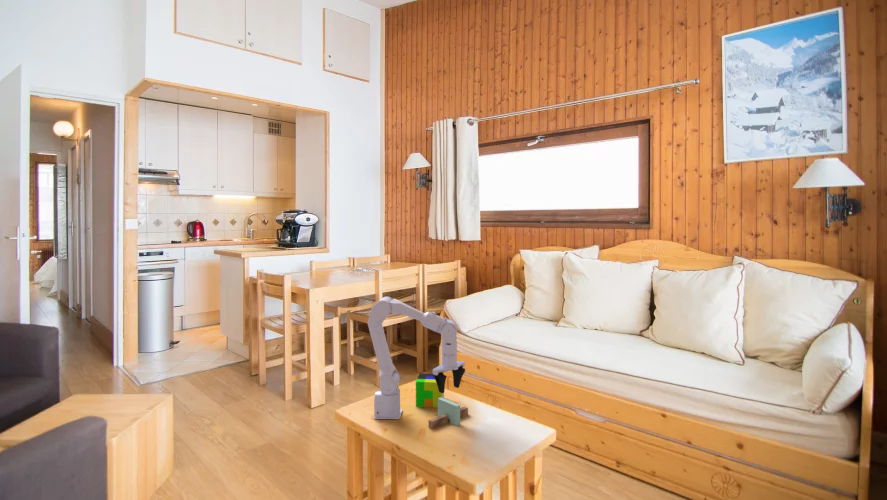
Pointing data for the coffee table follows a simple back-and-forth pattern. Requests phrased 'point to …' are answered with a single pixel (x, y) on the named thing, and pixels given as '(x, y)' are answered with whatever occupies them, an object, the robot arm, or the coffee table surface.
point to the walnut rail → (445, 418)
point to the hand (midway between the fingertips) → (449, 389)
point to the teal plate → (449, 410)
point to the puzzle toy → (427, 391)
